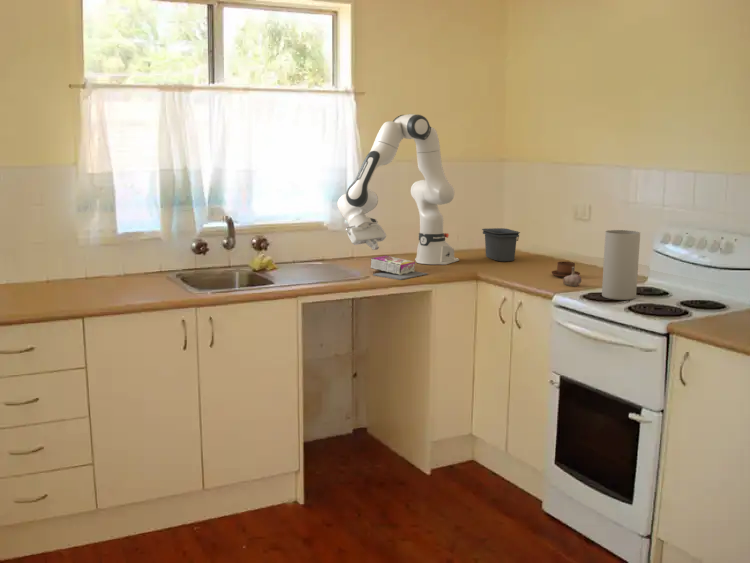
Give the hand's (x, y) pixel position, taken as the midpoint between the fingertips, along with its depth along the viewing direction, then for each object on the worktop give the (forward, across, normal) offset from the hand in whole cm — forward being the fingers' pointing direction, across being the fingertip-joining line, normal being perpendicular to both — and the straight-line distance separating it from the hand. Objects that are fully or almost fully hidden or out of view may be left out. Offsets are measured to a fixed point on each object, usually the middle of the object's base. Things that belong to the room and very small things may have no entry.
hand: (376, 248), depth 362 cm
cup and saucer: (+56, +47, -41) cm, 84 cm away
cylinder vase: (+82, +21, -67) cm, 108 cm away
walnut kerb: (+11, 0, +4) cm, 11 cm away
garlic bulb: (+64, +30, -50) cm, 87 cm away
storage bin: (+22, +69, -8) cm, 73 cm away
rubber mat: (+17, 0, -3) cm, 17 cm away
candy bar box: (+4, 0, +4) cm, 6 cm away
